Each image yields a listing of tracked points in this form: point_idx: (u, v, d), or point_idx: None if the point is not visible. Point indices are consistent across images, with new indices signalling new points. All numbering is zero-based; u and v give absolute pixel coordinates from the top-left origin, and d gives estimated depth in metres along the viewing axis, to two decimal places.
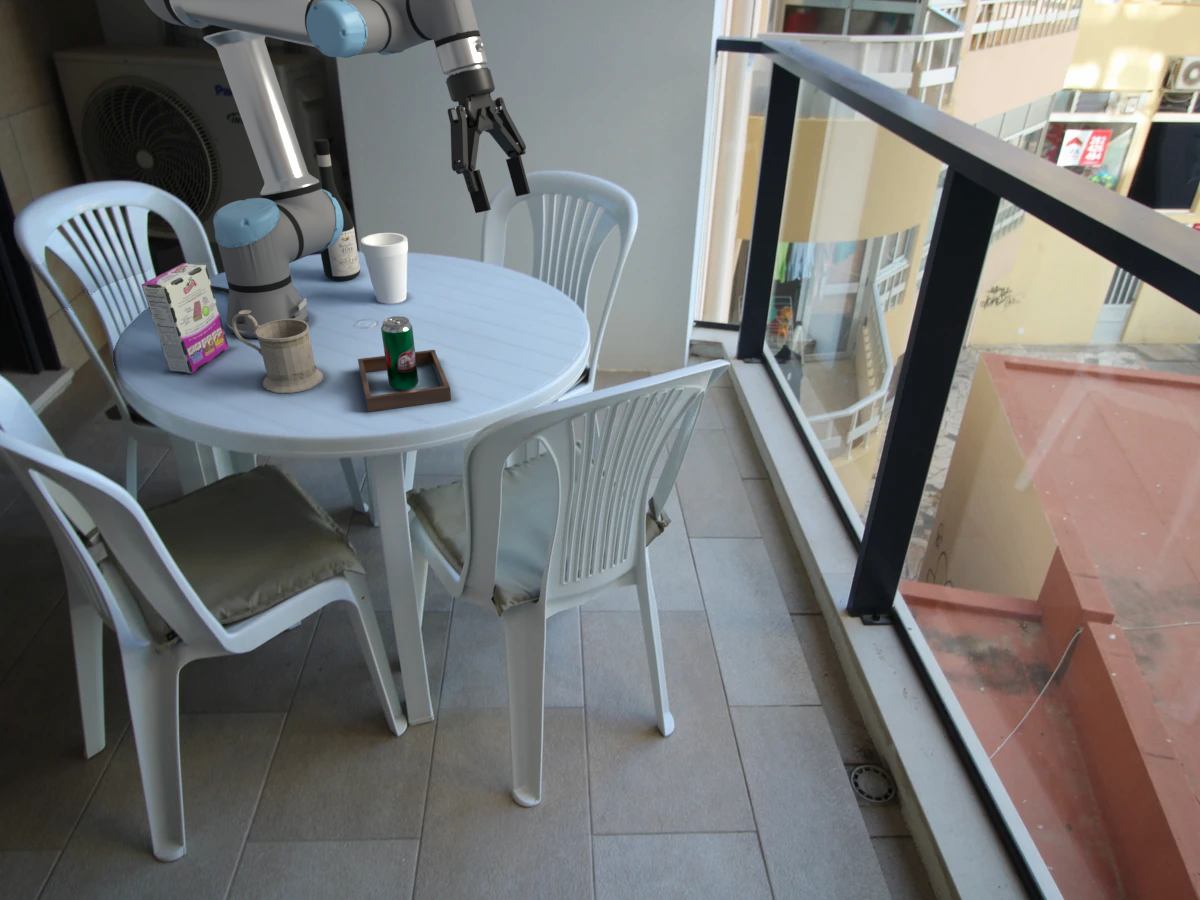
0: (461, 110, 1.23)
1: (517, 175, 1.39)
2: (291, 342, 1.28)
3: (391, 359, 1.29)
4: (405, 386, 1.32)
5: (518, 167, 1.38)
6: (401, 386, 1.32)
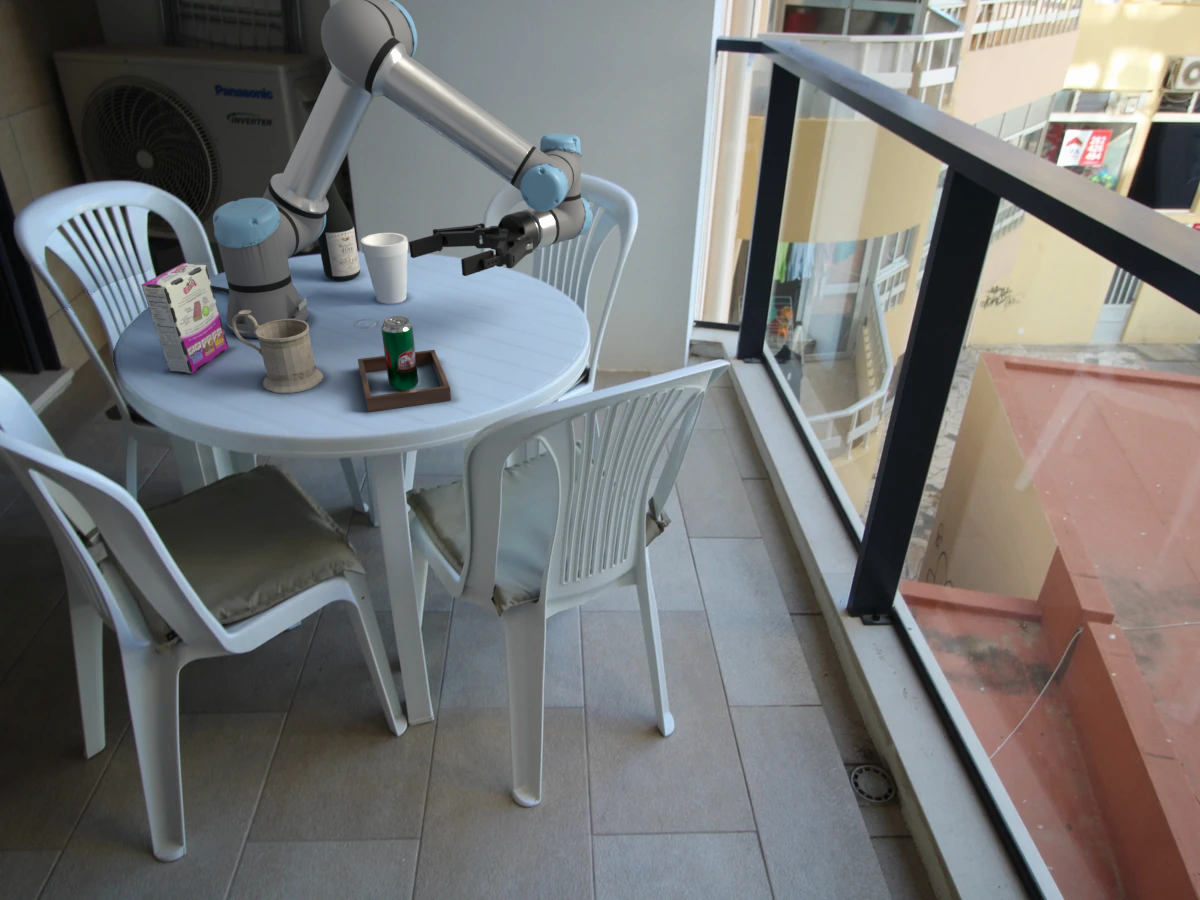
0: (529, 252, 1.37)
1: (428, 246, 1.36)
2: (291, 342, 1.28)
3: (392, 359, 1.29)
4: (405, 386, 1.32)
5: (434, 248, 1.37)
6: (401, 386, 1.32)
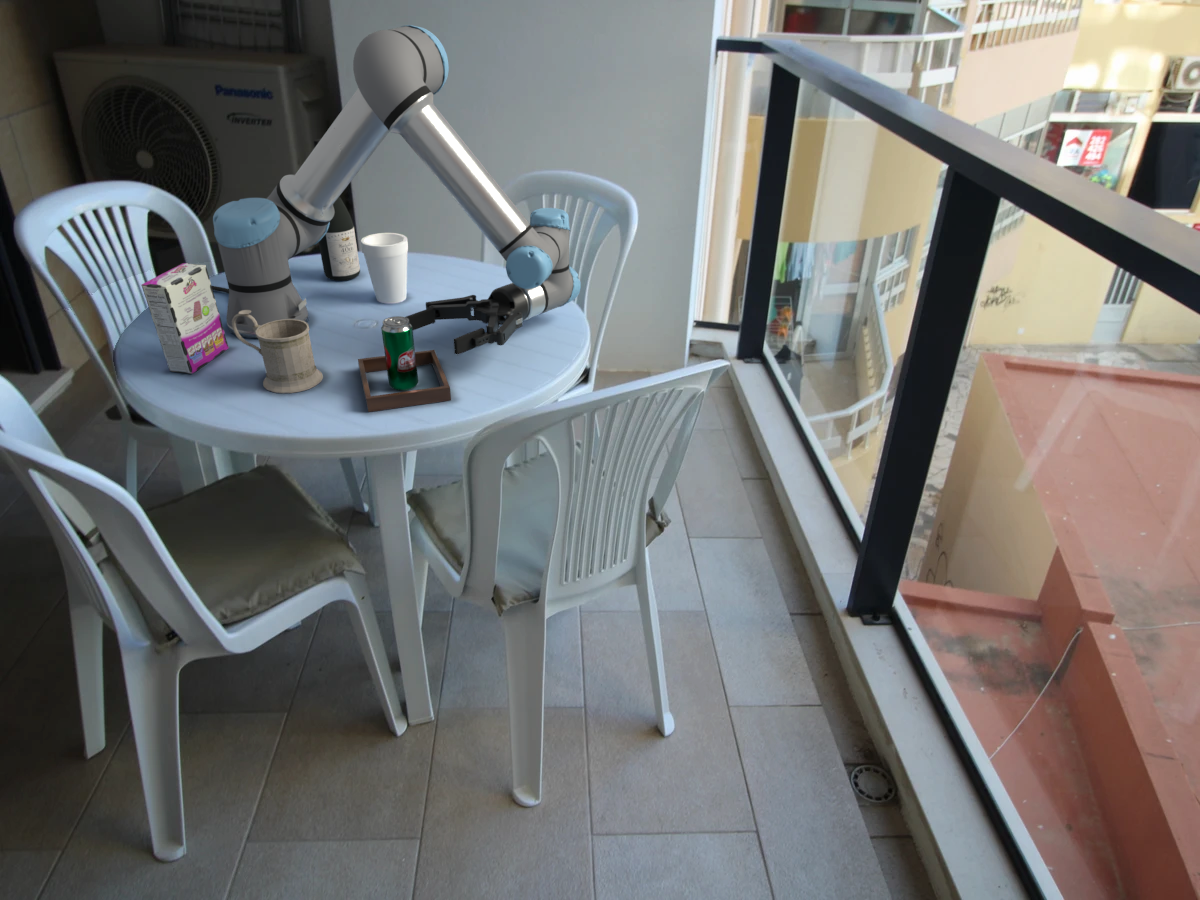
0: None
1: (421, 320, 1.41)
2: (291, 342, 1.28)
3: (392, 359, 1.29)
4: (405, 386, 1.32)
5: (427, 322, 1.42)
6: (401, 386, 1.32)
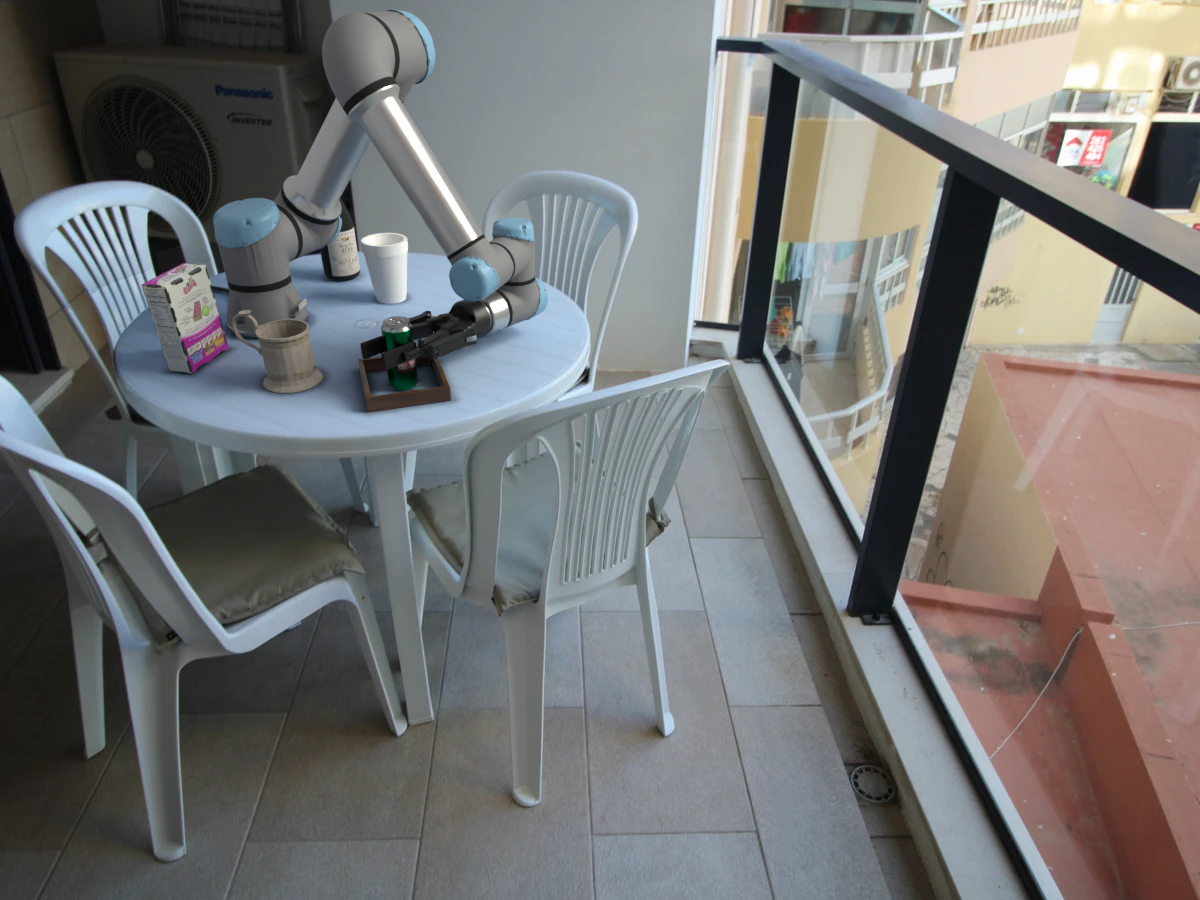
0: None
1: (381, 346, 1.31)
2: (291, 342, 1.28)
3: None
4: (405, 386, 1.32)
5: None
6: (401, 386, 1.32)
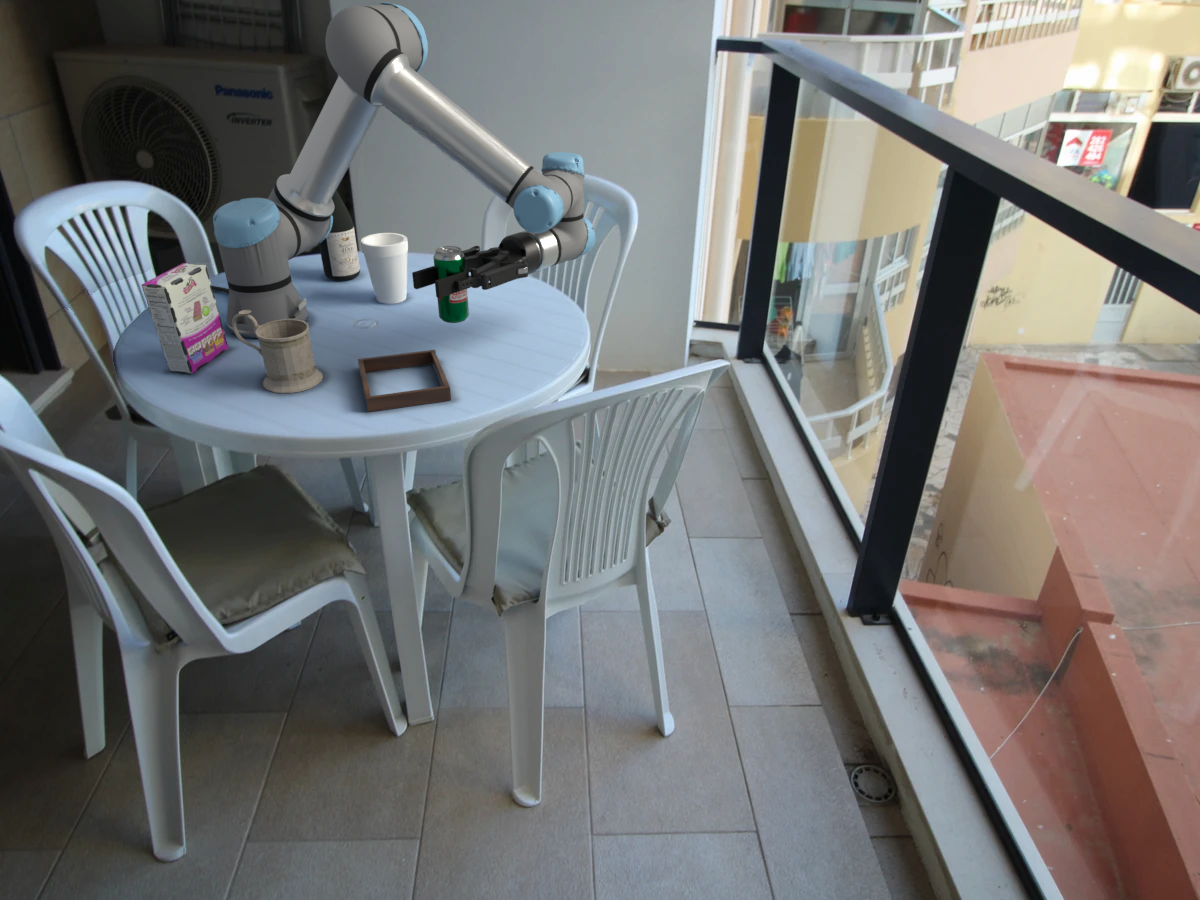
0: (524, 277, 1.33)
1: (432, 277, 1.29)
2: (291, 342, 1.28)
3: None
4: (456, 318, 1.30)
5: None
6: (453, 317, 1.30)
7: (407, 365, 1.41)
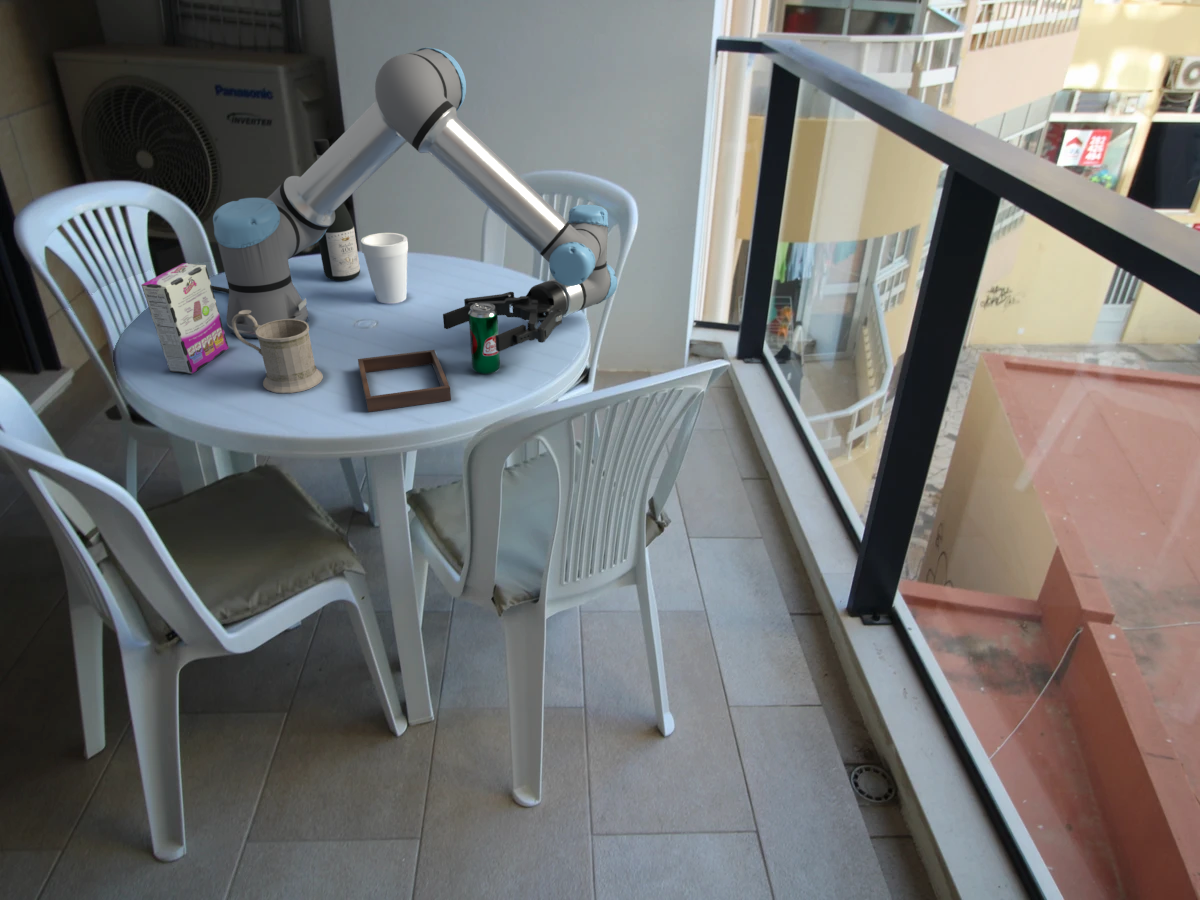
0: (559, 323, 1.42)
1: (461, 317, 1.40)
2: (291, 342, 1.28)
3: (478, 343, 1.35)
4: (489, 369, 1.38)
5: (466, 318, 1.41)
6: (486, 369, 1.38)
7: (407, 365, 1.41)
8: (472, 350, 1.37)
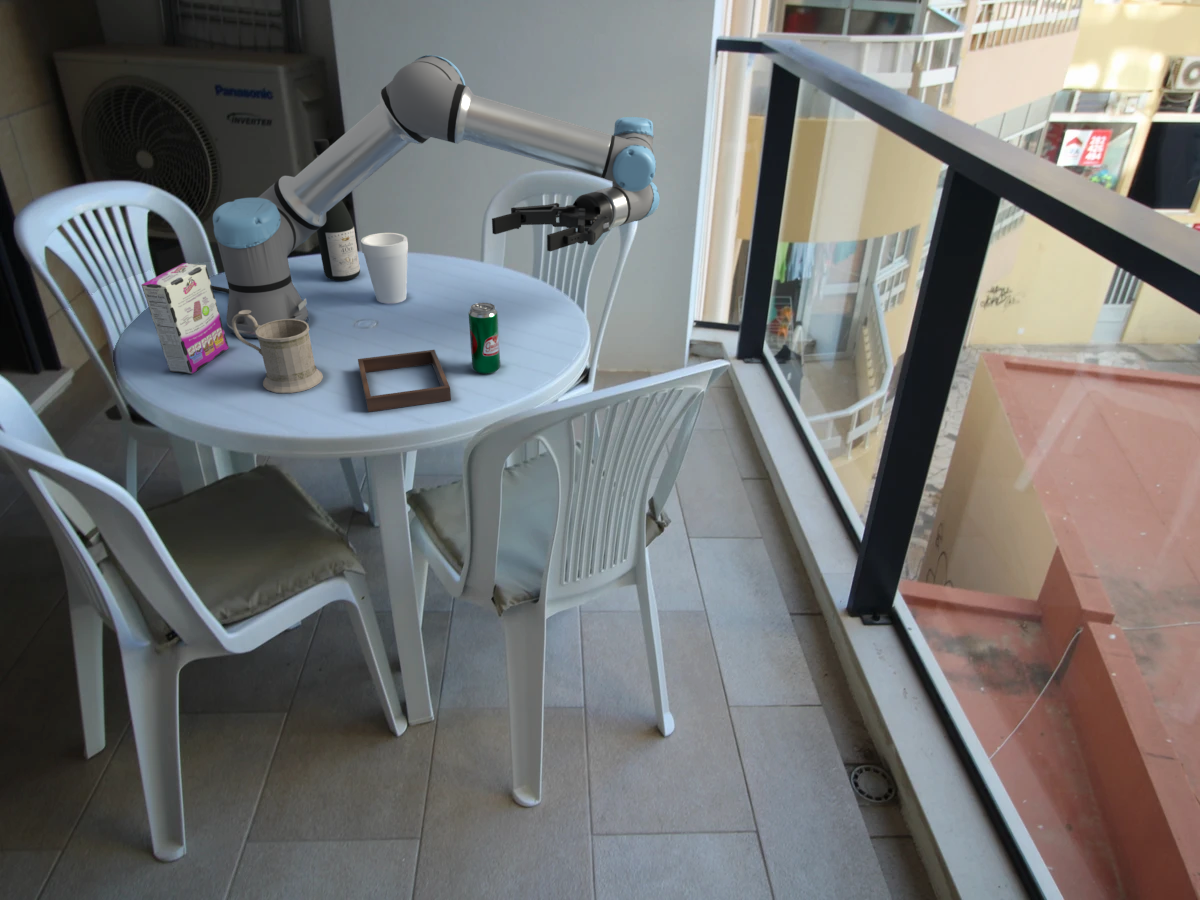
0: None
1: (509, 223, 1.41)
2: (291, 342, 1.28)
3: (478, 343, 1.35)
4: (489, 369, 1.38)
5: (514, 226, 1.42)
6: (486, 369, 1.38)
7: (407, 365, 1.41)
8: (472, 350, 1.37)
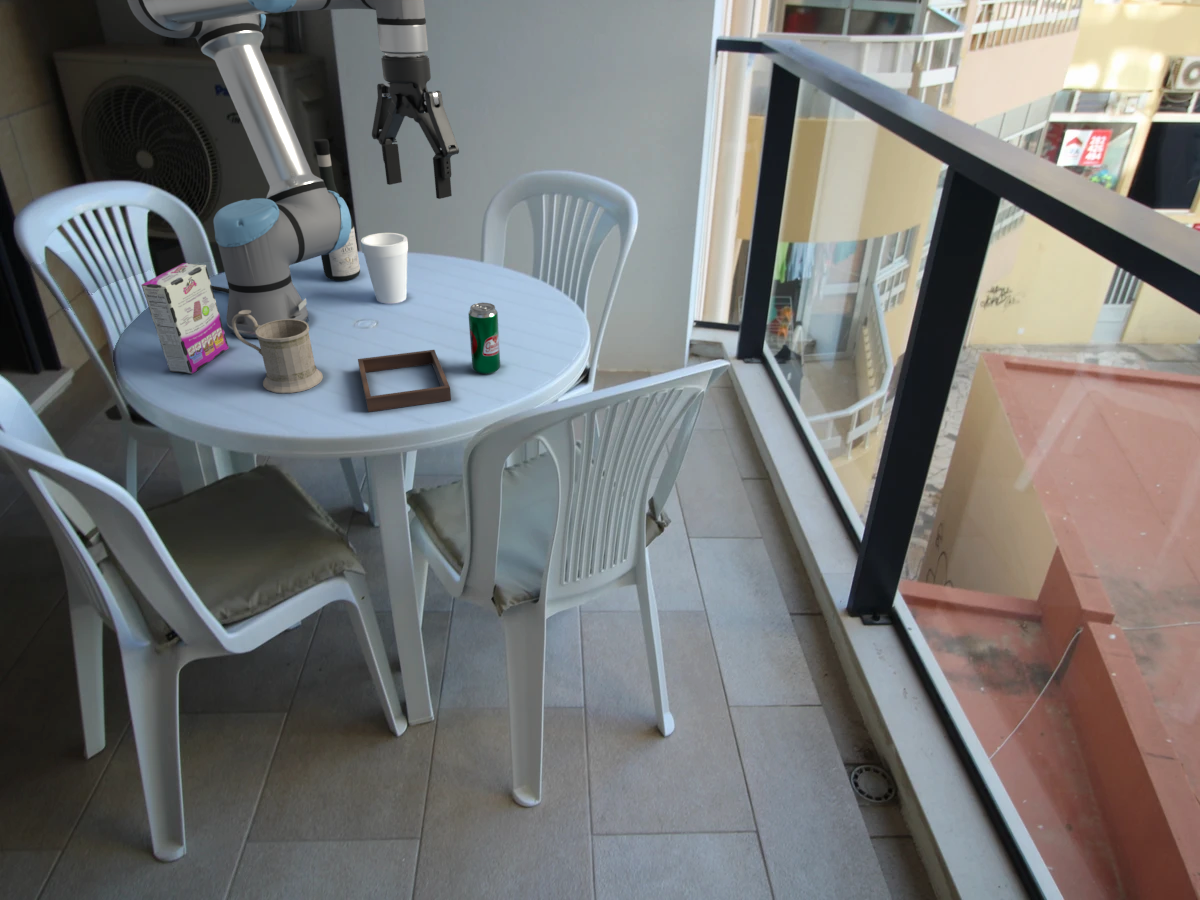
0: None
1: (394, 163, 1.37)
2: (291, 342, 1.28)
3: (478, 343, 1.35)
4: (489, 369, 1.38)
5: (396, 155, 1.37)
6: (486, 369, 1.38)
7: (407, 365, 1.41)
8: (472, 350, 1.37)
